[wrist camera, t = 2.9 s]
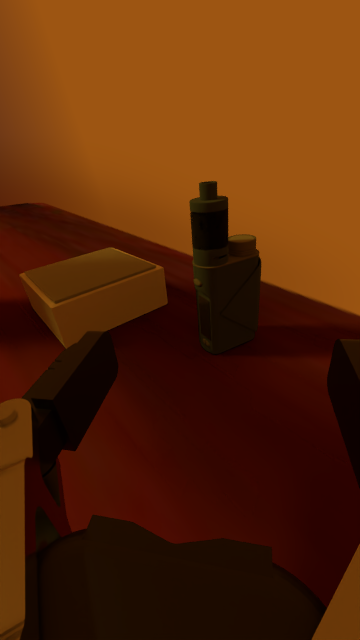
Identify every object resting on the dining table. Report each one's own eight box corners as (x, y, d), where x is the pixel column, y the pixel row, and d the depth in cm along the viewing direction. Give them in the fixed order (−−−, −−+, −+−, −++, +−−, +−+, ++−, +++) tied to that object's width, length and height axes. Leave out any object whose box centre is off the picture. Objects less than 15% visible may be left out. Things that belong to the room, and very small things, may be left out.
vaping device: (192, 343, 24) (179, 184, 18) (243, 323, 26) (247, 173, 19) (209, 359, 22) (201, 186, 16) (263, 336, 24) (275, 174, 17)
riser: (66, 348, 25) (50, 305, 22) (32, 307, 32) (17, 272, 30) (167, 303, 30) (163, 265, 28) (118, 277, 38) (111, 245, 36)
